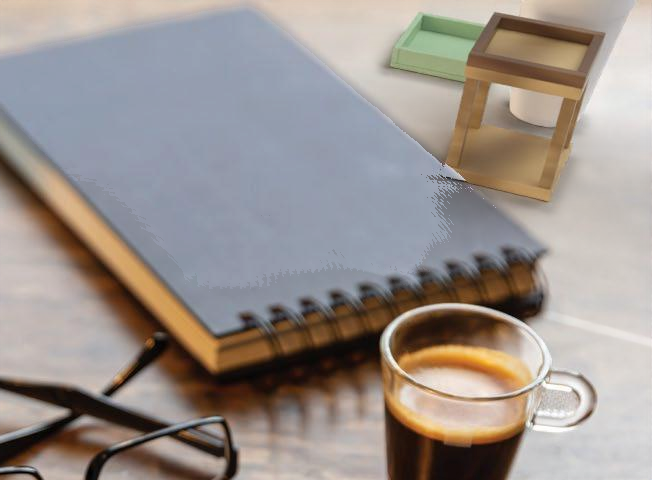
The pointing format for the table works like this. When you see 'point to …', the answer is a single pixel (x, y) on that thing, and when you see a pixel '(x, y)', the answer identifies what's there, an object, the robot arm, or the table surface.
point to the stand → (531, 74)
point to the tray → (436, 46)
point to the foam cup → (577, 11)
